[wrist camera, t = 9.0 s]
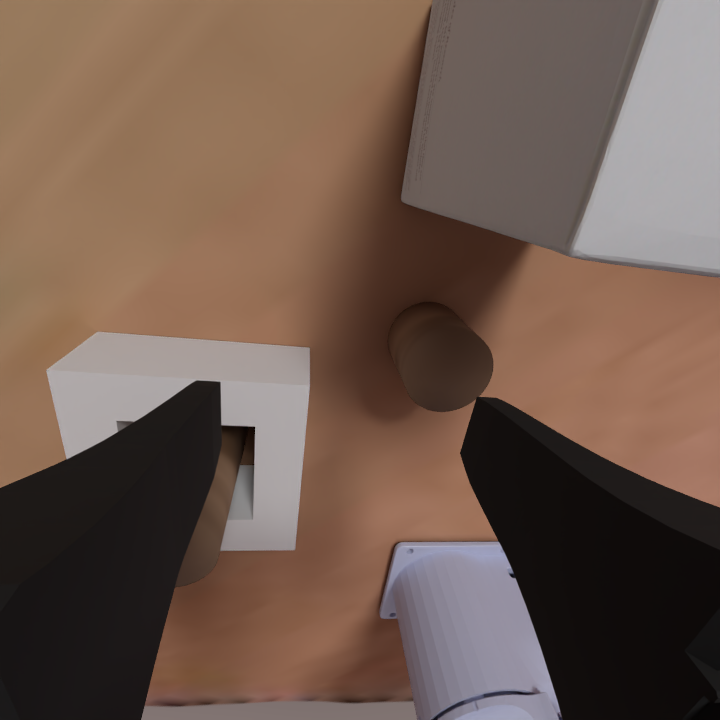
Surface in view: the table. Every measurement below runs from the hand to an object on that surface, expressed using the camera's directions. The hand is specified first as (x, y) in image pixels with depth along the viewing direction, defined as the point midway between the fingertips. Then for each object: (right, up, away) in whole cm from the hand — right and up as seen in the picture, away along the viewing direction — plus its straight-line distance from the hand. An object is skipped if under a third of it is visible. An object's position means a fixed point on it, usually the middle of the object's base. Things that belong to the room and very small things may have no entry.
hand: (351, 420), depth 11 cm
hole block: (-8, -2, +10) cm, 13 cm away
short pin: (+4, +3, +10) cm, 11 cm away
